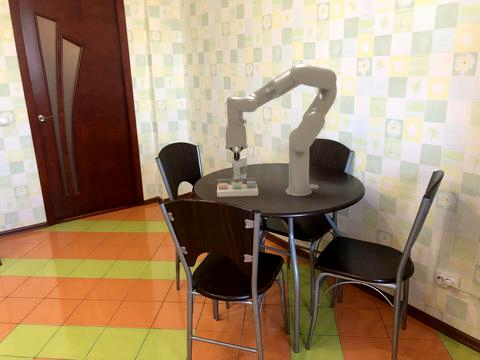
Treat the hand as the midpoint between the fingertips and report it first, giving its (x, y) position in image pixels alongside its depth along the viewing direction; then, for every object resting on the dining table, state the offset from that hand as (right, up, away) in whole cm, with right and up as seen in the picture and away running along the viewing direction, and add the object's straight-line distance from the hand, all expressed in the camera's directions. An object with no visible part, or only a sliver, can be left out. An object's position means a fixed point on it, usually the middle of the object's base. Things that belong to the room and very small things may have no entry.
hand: (236, 160), depth 184 cm
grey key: (+7, -12, +3) cm, 14 cm away
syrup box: (+1, -11, +22) cm, 24 cm away
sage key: (0, -13, +4) cm, 13 cm away
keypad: (0, -16, +4) cm, 16 cm away
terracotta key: (-7, -13, +3) cm, 15 cm away
